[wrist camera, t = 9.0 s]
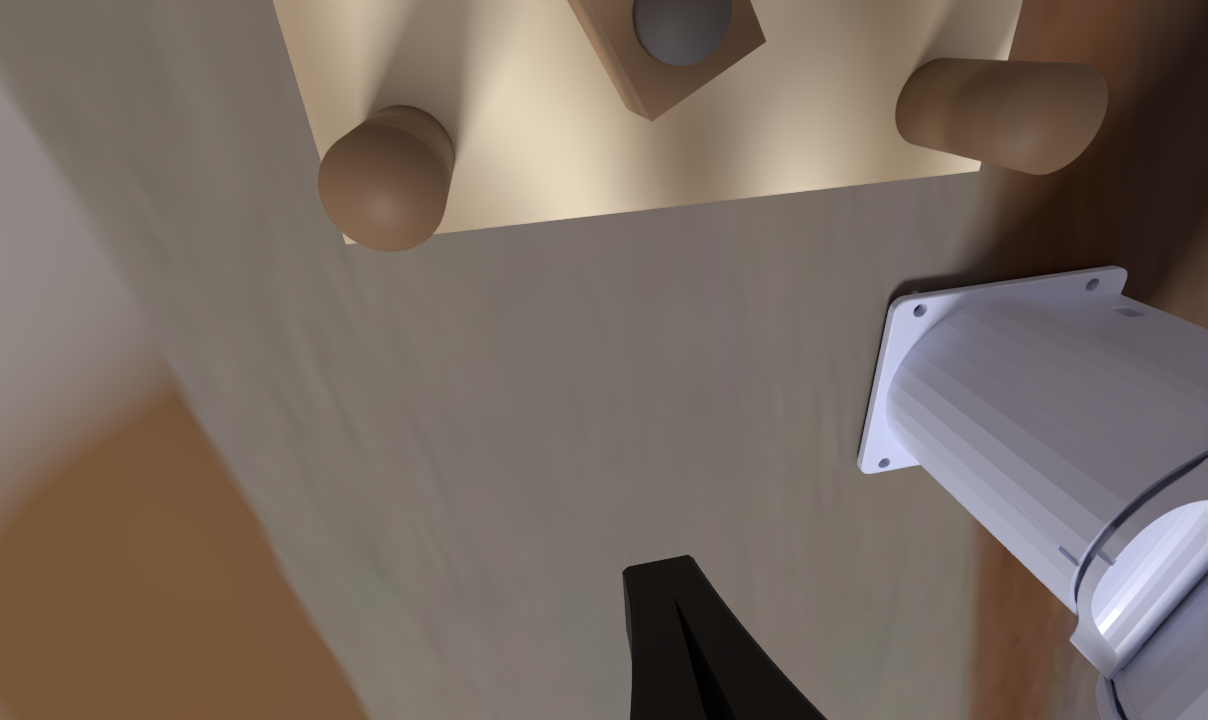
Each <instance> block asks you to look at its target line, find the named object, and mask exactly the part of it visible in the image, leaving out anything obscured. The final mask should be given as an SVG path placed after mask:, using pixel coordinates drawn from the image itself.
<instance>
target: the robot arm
mask: <svg viewBox="0 0 1208 720" xmlns="http://www.w3.org/2000/svg"><path fill="white" fill-rule="evenodd" d="M1126 279H1127V271H1126V270H1125V269H1124V268H1121V267H1118V266H1113V265H1112V266H1105V267H1098V268H1091V269H1084V270H1077V271H1070V272H1064V273H1057V274H1050V275H1043V276H1036V277H1029V278H1022V279H1015V280H1008V281H1001V282H994V283H987V284H981V285H974V286H967V287H960V288H953V289H946V290H939V291H932V292H925V293H918V294H911V295H904V296H901V297H899V298H897V299H896V300H894V301H893V303H892V304H891V305H890V308H889V310H888V315H887V320H886V325H885V330H884V335H883V339H882V344H881V349H880V354H879V359H878V364H877V369H876V374H875V378H874V383H873V388H872V393H871V398H870V403H869V408H868V413H867V417H866V422H865V427H864V432H863V437H862V442H861V447H860V452H859V456H858V461H857V465H858V467H859V468H860V469H861V470H862V471H863V473H866V474H872V473H877V472H882V471H888V470H893V469H898V468H904V467H909V466H914V465H920V464H921V465H922V466H923V467H924V468H925V469H926V470H927V471H928V472H929V473H930V474H931V475H932V476H933V477H934V478H935V479H936V480H937V481H938V482H939V483H940V484H941V485H942V486H943V487H944V488H945V489H946V490H947V491H948V492H950V493H951V494H952V495H953V496H954V497H955V498H956V499H957V500H958V501H959V502H960V503H961V504H962V505H963V506H964V507H965V508H966V509H967V510H968V511H969V512H970V513H971V514H972V515H973V516H974V517H975V518H976V519H977V520H978V521H979V522H980V523H981V524H982V525H983V526H985V527H986V528H987V529H988V530H989V531H990V532H991V533H992V534H993V535H994V536H995V537H996V538H997V539H998V540H999V541H1000V542H1001V543H1002V544H1003V545H1004V546H1005V547H1006V548H1007V549H1008V550H1009V551H1010V552H1011V553H1012V554H1013V555H1014V556H1015V557H1016V558H1017V559H1018V560H1020V561H1021V562H1022V563H1023V564H1024V565H1025V566H1026V567H1027V568H1028V569H1029V570H1030V571H1031V572H1032V573H1033V574H1034V575H1035V576H1036V577H1037V578H1038V579H1039V580H1040V581H1041V582H1042V583H1043V584H1044V585H1045V586H1046V587H1047V588H1048V589H1049V590H1050V591H1051V592H1052V593H1053V594H1055V595H1056V596H1057V597H1058V598H1059V599H1060V600H1061V601H1062V602H1063V603H1064V604H1065V605H1066V606H1067V607H1068V608H1069V609H1070V610H1071V611H1072V612H1073V613H1074V614H1075V615H1076V616H1077V617H1078V618H1079V621H1078V625H1077V627H1076V629H1075V631H1074V632H1073V634H1072V635H1071V637H1070V641H1071V642H1072V643H1073V644H1074V645H1075V646H1076V648H1077V649H1078V650H1079V651H1080V652H1081V653H1082V654H1083V655H1084V656H1085V657H1086V658H1087V659H1088V660H1089V661H1090V662H1091V663H1092V664H1093V665H1094V666H1095V667H1096V668H1097V669H1098V670H1099V671H1100V674H1099V676H1098V680H1097V684H1096V688H1095V693H1096V704H1097V707H1098V711H1099V714H1100V718H1101V720H1208V329H1206V328H1203V327H1201V326H1198V325H1196V324H1193V323H1191V322H1188V321H1186V320H1183V319H1181V318H1178V317H1176V316H1173V315H1171V314H1168V313H1166V312H1163V311H1161V310H1158V309H1156V308H1153V307H1151V306H1148V305H1146V304H1143V303H1141V302H1138V301H1136V300H1133V299H1131V298H1129V297H1126V296H1124V295H1121V291H1122V289H1123V287H1124V284H1125V282H1126ZM918 305H920V306H919V308H918V309H917V310H916V311H915V312H913V311H914V309H915V308H916V307H917V306H918ZM623 586H624V601H625V615H626V629H627V635H628V640H629V646H630V652H631V659H632V694H631V712H630V720H827V719H826V718H825V717H824V716H823V715H822V714H821V713H820V712H819V711H818V710H817V709H816V707H815V706H814V705H813V704H812V703H811V702H810V701H809V700H808V699H807V698H806V697H805V696H804V695H803V694H802V693H801V692H800V691H799V690H798V689H797V687H796V686H795V685H794V684H793V683H792V682H791V681H790V680H789V679H788V678H787V677H786V676H785V675H784V673H783V672H782V671H781V670H780V669H779V668H778V667H777V666H776V664H775V663H774V662H773V661H772V660H771V659H770V658H769V657H768V655H767V654H766V653H765V652H764V651H763V649H762V648H761V647H760V646H759V645H758V643H757V642H756V641H755V640H754V639H753V638H752V636H751V635H750V634H749V633H748V632H747V630H746V629H745V628H744V627H743V626H742V624H741V623H740V622H739V621H738V619H737V618H736V617H735V616H734V614H733V613H732V612H731V610H730V609H729V608H728V606H727V605H726V604H725V603H724V601H723V600H722V599H721V597H720V596H719V595H718V593H717V592H716V591H715V589H714V588H713V586H712V585H711V584H710V582H709V581H708V579H707V578H706V577H705V575H704V574H703V572H702V571H701V569H700V568H699V566H698V565H697V563H696V562H695V560H694V558H692V557H691V556H689V555H685V556H680V557H675V558H670V559H664V560H659V561H654V562H649V563H644V564H639V565H634V566H629V567H627V568H626V569H625V570H624V571H623Z"/></svg>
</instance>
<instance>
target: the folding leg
mask: <svg viewBox="0 0 1208 720" xmlns="http://www.w3.org/2000/svg"><path fill="white" fill-rule="evenodd" d="M567 1H568V2H569V4H570V6H571V8H572V10H573V12H574V13H575V15H576V17H577V19H578V21H579V23H580V24H581V26H582V28H583V30H584V32H585V33H586V35H587V37H588V39H589V41H590V43H591V44H592V46H593V48H594V50H595V52H596V53H597V55H598V57H599V59H600V61H601V63H602V64H603V66H604V68H605V70H606V72H607V73H608V75H609V77H610V79H611V81H612V83H613V84H614V86H615V88H616V90H617V92H618V93H619V95H620V97H621V99H622V101H623V103H624V104H625V106H626V108H627V110H629V111H631V112H633V113H635V114H638V115H640V116H642V117H644V118H646V119H648V120H650V121H654V120H655V119H657V118H658V117H659V116H661V115H662V114H664V113H665V112H667V111H668V110H669V109H671V108H672V107H674V106H675V105H677V104H678V103H679V102H681V101H682V100H684V99H685V98H687V97H688V96H689V95H691V94H692V93H694V92H695V91H697V90H698V89H699V88H701V87H702V86H704V85H705V84H707V83H708V82H709V81H711V80H712V79H714V78H715V77H717V76H718V75H719V74H721V73H722V72H724V71H725V70H727V69H728V68H729V67H731V66H732V65H734V64H735V63H737V62H738V61H739V60H741V59H742V58H744V57H745V56H747V55H748V54H749V53H751V52H752V51H754V50H755V49H757V48H758V47H759V46H761V45H762V44H764V43H765V42H766V39H765V37H764V34H763V31H762V29H761V26H760V24H759V21H758V19H757V16H756V13H755V11H754V8H753V6H752V3H751V1H750V0H567Z"/></svg>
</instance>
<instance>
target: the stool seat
mask: <svg viewBox="0 0 1208 720" xmlns="http://www.w3.org/2000/svg"><path fill="white" fill-rule="evenodd" d="M750 1H751V3H752V6H753V8H754V11H755V13H756V16H757V19H758V21H759V24H760V26H761V29H762V31H763V34H764V37H765V39H766V42H765V43H764V44H762V45H761V46H759V47H758V48H757V49H755V50H754V51H752V52H751V53H749V54H748V55H747V56H745V57H744V58H742V59H741V60H739V61H738V62H737V63H735V64H734V65H732V66H731V67H729V68H728V69H727V70H725V71H724V72H722V73H721V74H719V75H718V76H717V77H715V78H714V79H712V80H711V81H709V82H708V83H707V84H705V85H704V86H702V87H701V88H699V89H698V90H697V91H695V92H694V93H692V94H691V95H689V96H688V97H687V98H685V99H684V100H682V101H681V102H679V103H678V104H677V105H675V106H674V107H672V108H671V109H669V110H668V111H667V112H665V113H664V114H662V115H661V116H659V117H658V118H657V119H655V120H654V121H650V120H648V119H646V118H644V117H642V116H640V115H638V114H635V113H633V112H631V111H629V110H627V108H626V106H625V104H624V103H623V101H622V99H621V97H620V95H619V93H618V92H617V90H616V88H615V86H614V84H613V83H612V81H611V79H610V77H609V75H608V73H607V72H606V70H605V68H604V66H603V64H602V63H601V61H600V59H599V57H598V55H597V53H596V52H595V50H594V48H593V46H592V44H591V43H590V41H589V39H588V37H587V35H586V33H585V32H584V30H583V28H582V26H581V24H580V23H579V21H578V19H577V17H576V15H575V13H574V12H573V10H572V8H571V6H570V4H569V2H568V1H567V0H273V3H274V6H275V10H276V13H277V16H278V20H279V23H280V26H281V30H282V33H283V36H284V40H285V43H286V46H287V50H288V53H289V56H290V60H291V63H292V66H293V70H294V73H295V76H296V80H297V83H298V86H299V90H300V93H301V96H302V100H303V103H304V106H305V110H306V113H307V116H308V120H309V123H310V126H311V130H312V133H313V136H314V140H315V143H316V146H317V150H318V153H319V156H320V160H321V165H320V168H319V174H318V190H319V195H320V199H321V202H322V205H323V207H324V209H325V211H326V213H327V215H328V216H329V218H330V219H331V221H332V222H333V223H334V225H335V226H336V227H337V228H338V229H339V230H340V231H341V232H342V233H343V236H344V240H345V243H346V244H353V243H358V244H360V245H363V246H365V247H368V248H371V249H374V250H380V251H390V252H392V251H402V250H407V249H410V248H413V247H415V246H417V245H419V244H421V243H423V242H424V241H426V240H427V239H428V238H429V237H430V236H432V234H439V233H448V232H456V231H465V230H474V229H482V228H491V227H500V226H508V225H517V224H525V223H534V222H543V221H551V220H560V219H568V218H577V217H586V216H594V215H603V214H612V213H620V212H629V211H637V210H646V209H655V208H663V207H672V206H681V205H689V204H698V203H706V202H715V201H724V200H732V199H741V198H750V197H758V196H767V195H775V194H784V193H793V192H801V191H810V190H818V189H827V188H836V187H844V186H853V185H862V184H870V183H879V182H887V181H896V180H905V179H913V178H922V177H931V176H939V175H948V174H956V173H965V172H974V171H979V169H980V165H981V162H985V163H989V164H993V165H997V166H1001V167H1005V168H1009V169H1013V170H1017V171H1021V172H1025V173H1029V174H1035V175H1043V174H1048V173H1052V172H1055V171H1057V170H1059V169H1061V168H1063V167H1065V166H1066V165H1068V164H1069V163H1071V162H1072V161H1073V160H1074V159H1076V158H1077V157H1078V156H1079V155H1080V154H1081V153H1082V152H1083V151H1084V150H1085V149H1086V147H1087V146H1088V145H1089V144H1090V142H1091V141H1092V140H1093V138H1094V137H1095V135H1096V133H1097V132H1098V130H1099V128H1100V126H1101V124H1102V121H1103V119H1104V116H1105V113H1106V109H1107V104H1108V87H1107V83H1106V80H1105V78H1104V76H1103V74H1102V73H1101V72H1100V71H1099V70H1098V69H1097V68H1095V67H1093V66H1091V65H1088V64H1077V63H1054V62H1031V61H1008V56H1009V52H1010V48H1011V44H1012V40H1013V37H1014V33H1015V29H1016V25H1017V21H1018V17H1019V13H1020V9H1021V6H1022V2H1023V0H750Z"/></svg>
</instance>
